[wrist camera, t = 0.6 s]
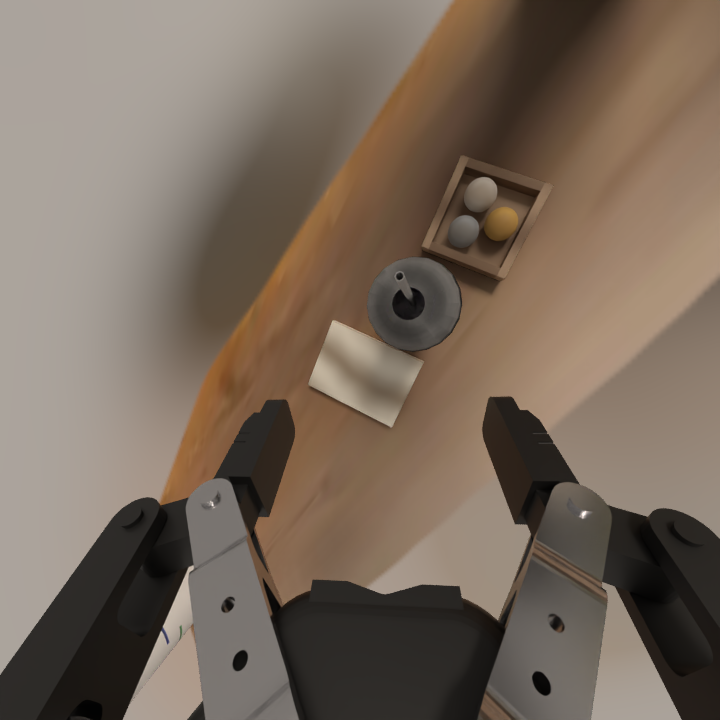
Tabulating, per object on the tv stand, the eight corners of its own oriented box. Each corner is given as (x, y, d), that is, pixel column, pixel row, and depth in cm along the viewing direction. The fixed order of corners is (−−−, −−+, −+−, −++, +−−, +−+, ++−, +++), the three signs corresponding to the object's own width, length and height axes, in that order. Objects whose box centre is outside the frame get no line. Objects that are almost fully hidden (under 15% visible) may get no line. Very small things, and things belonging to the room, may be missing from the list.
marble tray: (459, 165, 30) (462, 147, 27) (545, 194, 29) (560, 178, 25) (422, 250, 32) (420, 243, 29) (500, 281, 31) (508, 277, 28)
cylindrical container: (229, 533, 46) (9, 766, 23) (243, 573, 47) (43, 842, 23) (195, 537, 48) (-40, 754, 25) (209, 575, 49) (-7, 824, 25)
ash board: (335, 320, 36) (332, 320, 35) (423, 361, 34) (423, 362, 33) (311, 382, 39) (307, 384, 38) (392, 424, 37) (391, 427, 36)
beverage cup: (389, 339, 35) (333, 370, 16) (389, 276, 34) (328, 230, 15) (452, 339, 33) (474, 375, 14) (454, 273, 32) (481, 215, 13)
